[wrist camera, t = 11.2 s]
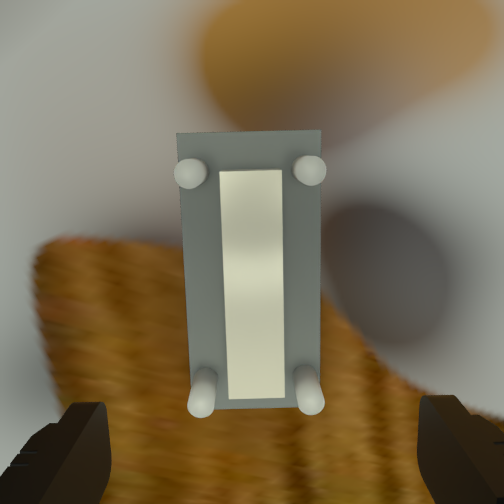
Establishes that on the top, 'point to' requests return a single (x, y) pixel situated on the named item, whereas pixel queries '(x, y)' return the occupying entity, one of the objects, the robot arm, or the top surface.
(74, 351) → the top surface
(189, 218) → the grey pegged tray
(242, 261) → the clay strip
